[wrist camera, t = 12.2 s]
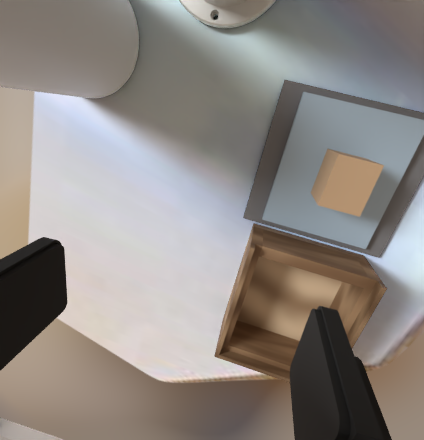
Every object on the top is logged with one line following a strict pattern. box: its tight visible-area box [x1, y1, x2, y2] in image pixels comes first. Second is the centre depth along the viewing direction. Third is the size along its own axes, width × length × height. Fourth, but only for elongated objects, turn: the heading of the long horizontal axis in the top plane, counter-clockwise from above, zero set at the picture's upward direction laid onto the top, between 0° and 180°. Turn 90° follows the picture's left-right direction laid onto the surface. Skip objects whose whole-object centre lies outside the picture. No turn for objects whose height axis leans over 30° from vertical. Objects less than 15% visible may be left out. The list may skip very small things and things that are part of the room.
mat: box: [243, 80, 424, 257], centre depth 31 cm, size 16×17×1 cm
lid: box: [262, 92, 424, 249], centre depth 28 cm, size 14×12×6 cm
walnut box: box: [215, 224, 387, 383], centre depth 34 cm, size 16×14×7 cm
